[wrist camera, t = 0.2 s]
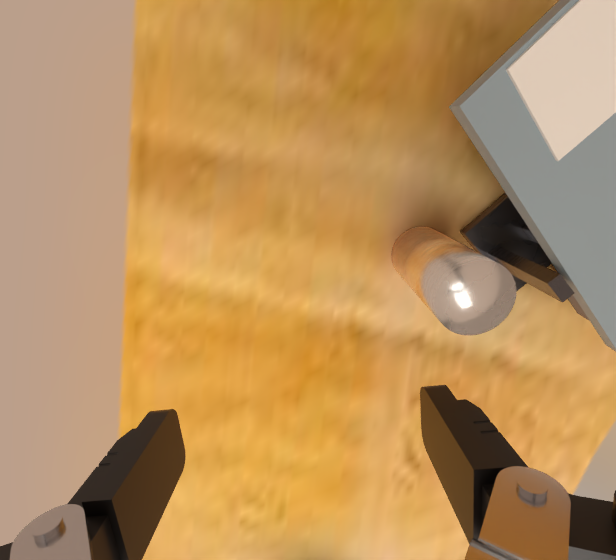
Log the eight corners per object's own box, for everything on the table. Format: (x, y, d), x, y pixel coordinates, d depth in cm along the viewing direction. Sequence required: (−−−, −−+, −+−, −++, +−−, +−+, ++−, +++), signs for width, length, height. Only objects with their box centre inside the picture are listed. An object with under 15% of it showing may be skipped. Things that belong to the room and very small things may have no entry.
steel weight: (406, 218, 32) (459, 248, 21) (456, 237, 32) (532, 276, 22) (382, 269, 33) (421, 321, 23) (430, 287, 34) (489, 344, 24)
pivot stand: (659, 169, 31) (797, 174, 22) (507, 289, 34) (577, 333, 26) (617, 96, 29) (751, 71, 20) (459, 232, 32) (518, 259, 24)
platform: (687, 232, 31) (796, 261, 24) (568, 320, 33) (639, 366, 27) (576, -47, 21) (709, -114, 15) (419, 108, 24) (477, 105, 17)
